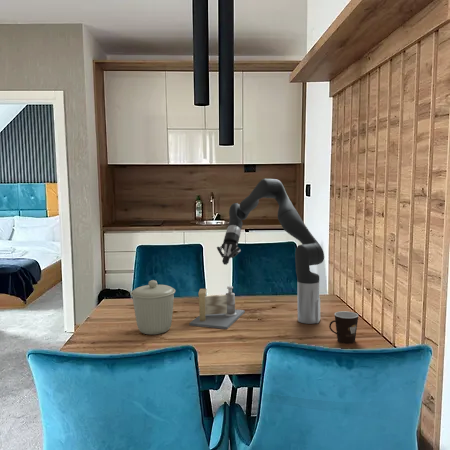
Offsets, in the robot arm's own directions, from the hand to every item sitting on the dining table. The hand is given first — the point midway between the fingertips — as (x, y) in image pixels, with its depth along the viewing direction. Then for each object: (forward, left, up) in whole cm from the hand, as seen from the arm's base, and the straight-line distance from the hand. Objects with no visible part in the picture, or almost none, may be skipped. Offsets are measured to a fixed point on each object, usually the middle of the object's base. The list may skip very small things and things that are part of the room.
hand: (224, 263), depth 222 cm
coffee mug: (-60, +37, -20) cm, 74 cm away
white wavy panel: (-5, +24, -18) cm, 30 cm away
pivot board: (-6, +25, -20) cm, 33 cm away
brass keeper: (0, +29, -20) cm, 35 cm away
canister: (+14, +47, -20) cm, 53 cm away
